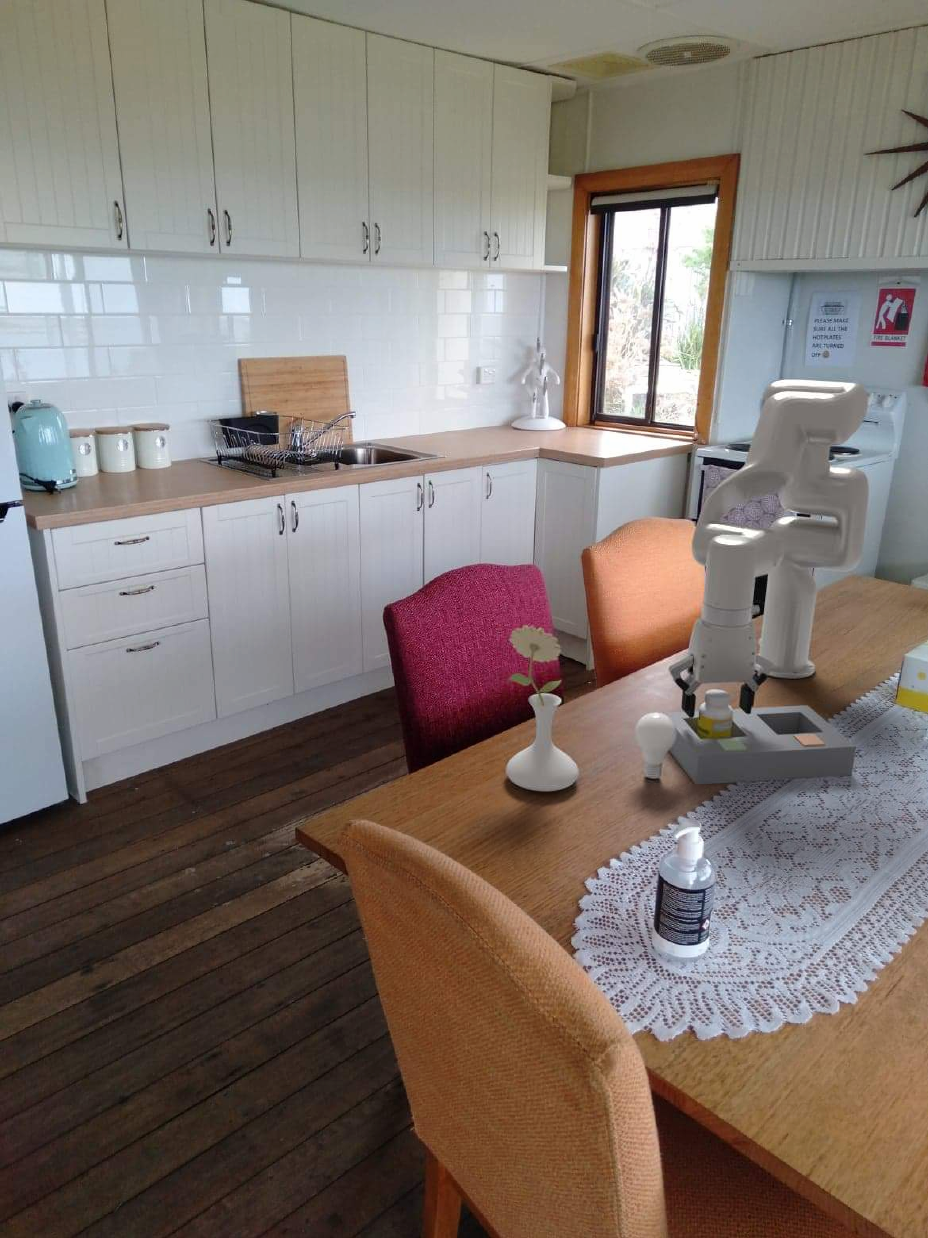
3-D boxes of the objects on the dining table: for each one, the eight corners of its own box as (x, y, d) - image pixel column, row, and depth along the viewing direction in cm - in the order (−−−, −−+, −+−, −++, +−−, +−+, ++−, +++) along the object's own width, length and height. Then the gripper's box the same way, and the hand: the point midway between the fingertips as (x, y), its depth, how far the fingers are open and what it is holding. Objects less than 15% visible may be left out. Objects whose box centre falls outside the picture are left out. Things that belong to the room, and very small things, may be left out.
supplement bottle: (690, 741, 156) (696, 687, 153) (721, 740, 157) (727, 686, 153) (702, 756, 151) (708, 701, 148) (734, 755, 152) (740, 700, 148)
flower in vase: (593, 780, 145) (601, 630, 137) (546, 807, 138) (552, 649, 130) (530, 753, 154) (534, 610, 146) (482, 776, 146) (485, 627, 138)
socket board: (661, 739, 159) (663, 711, 158) (803, 731, 163) (807, 703, 161) (695, 784, 144) (698, 754, 143) (851, 774, 148) (856, 744, 146)
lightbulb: (675, 772, 148) (680, 709, 145) (669, 790, 142) (675, 725, 139) (635, 765, 150) (639, 703, 147) (628, 783, 144) (633, 719, 141)
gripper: (767, 604, 151) (757, 700, 157) (665, 608, 149) (658, 706, 154) (789, 619, 144) (777, 719, 150) (682, 624, 142) (674, 725, 147)
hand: (716, 712), depth 152 cm, fingers open, 9 cm apart
